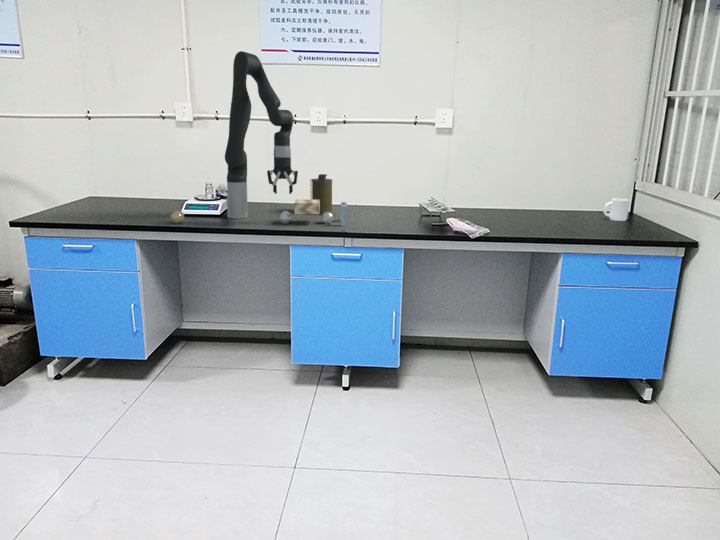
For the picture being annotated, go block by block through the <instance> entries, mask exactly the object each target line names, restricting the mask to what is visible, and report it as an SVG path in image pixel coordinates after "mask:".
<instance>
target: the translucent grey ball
mask: <svg viewBox="0 0 720 540" xmlns="http://www.w3.org/2000/svg"><path fill="white" fill-rule="evenodd" d="M291 219H292V214H291V212H289V211H287V210H283V211H282V212H281V213H280V215H279V217H278V220H279V222H280V224H282V225H289V223H290V221H291Z"/></svg>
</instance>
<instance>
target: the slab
mask: <svg viewBox="0 0 720 540" xmlns="http://www.w3.org/2000/svg"><path fill="white" fill-rule="evenodd" d="M293 207H294V215H314V214H319V212H320V200H312V199H295V201H294V206H293Z"/></svg>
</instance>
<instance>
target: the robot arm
mask: <svg viewBox="0 0 720 540" xmlns="http://www.w3.org/2000/svg"><path fill="white" fill-rule="evenodd" d="M233 59H234V60H233V64H232V65H233V66H232V67H233V68H232V69H233V70H232V71H233V72H232V76H233V77H232V94H231V102H230V110H229V111H230V112H229V121H228V122H229V123H228V139H227V145H226V149H225V151H224V152H225V153H224V161H225V163H226V165H227V175H226V187H227V188H226V189H227V190H226V191H227V198H226V207H227V209H226V212H227V213H226V214H227V219H235V220H237V219H238V220H239V219H240V220H241V219H247V218H249V211H248V210H249V207H248V202H249V201H248V182H247V181H248V156H247V153H246V150H245V138H246V134H247V131H248V129H249V124H250V121H251V113H252V102H251V98H250V94H249V92H248V88H247V78H248V77H247V76H250V77H251V78H253V79H252V80H254V81H255V83H256V85H257V93H258V97H259V98H260V101H261V102H262V104H263V105H264V107H265V109H266V113H267V116H268V119H269V122H270V123H271V124H272V125H273V126H275V127H280V129H279V130H278V131H277V132H275V133H274V134H273V144H274V146H273V147H274V148H273V169H272V170H271V169H270V170H267V171H266V175H267V180H268V184H269V185H271V186H272V187H273V190H272V191H273V193H274V195H276V194H277V193H278V192H277V191H278V189H277V188H278V187H277V182H278V180H287V182H288V184H289V186H288V189H289V190H288V193H289V195H292V193H293V191H294V189H293V186H294V185H296V184H297V182H298V175H299V174H298V173H299V171H298V170H293V169H292V157H291V156H292V151H291V134H292V131H293V130H292V129H293V126H294V125H293V124H294V115H293V113H292V111H290V110H288V109H280V107H281V105H282V103H281V100H280V97H278V95H277V93H276V92H275V90H274V89H273V87H272V86H271V83H270V80H269V78H268V76H267V74H266V72H265V69H264V67H263V64H262V62H261V60H260V58H259V57H258V56H257V55H255V54H253V53H249V52H246V51H242V50H240V51H238V52H237V53H236V54H235V56H234V58H233ZM273 174H274V176H275V177H274V181H272V175H273ZM291 174H292V175H293V176H294V177H293V181H292V179H291V177H290V176H291Z"/></svg>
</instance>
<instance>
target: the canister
mask: <svg viewBox="0 0 720 540" xmlns="http://www.w3.org/2000/svg"><path fill="white" fill-rule="evenodd" d="M327 176H328V174H326V173H325V174H324V173H319V174H318V177H317V178H311V200H320V212H319V214H317V215H316V216H322V215H323V213H324V212H327V211H329V212H331V213H332V214H333V181H334V180H333V179H331V178H327Z"/></svg>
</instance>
